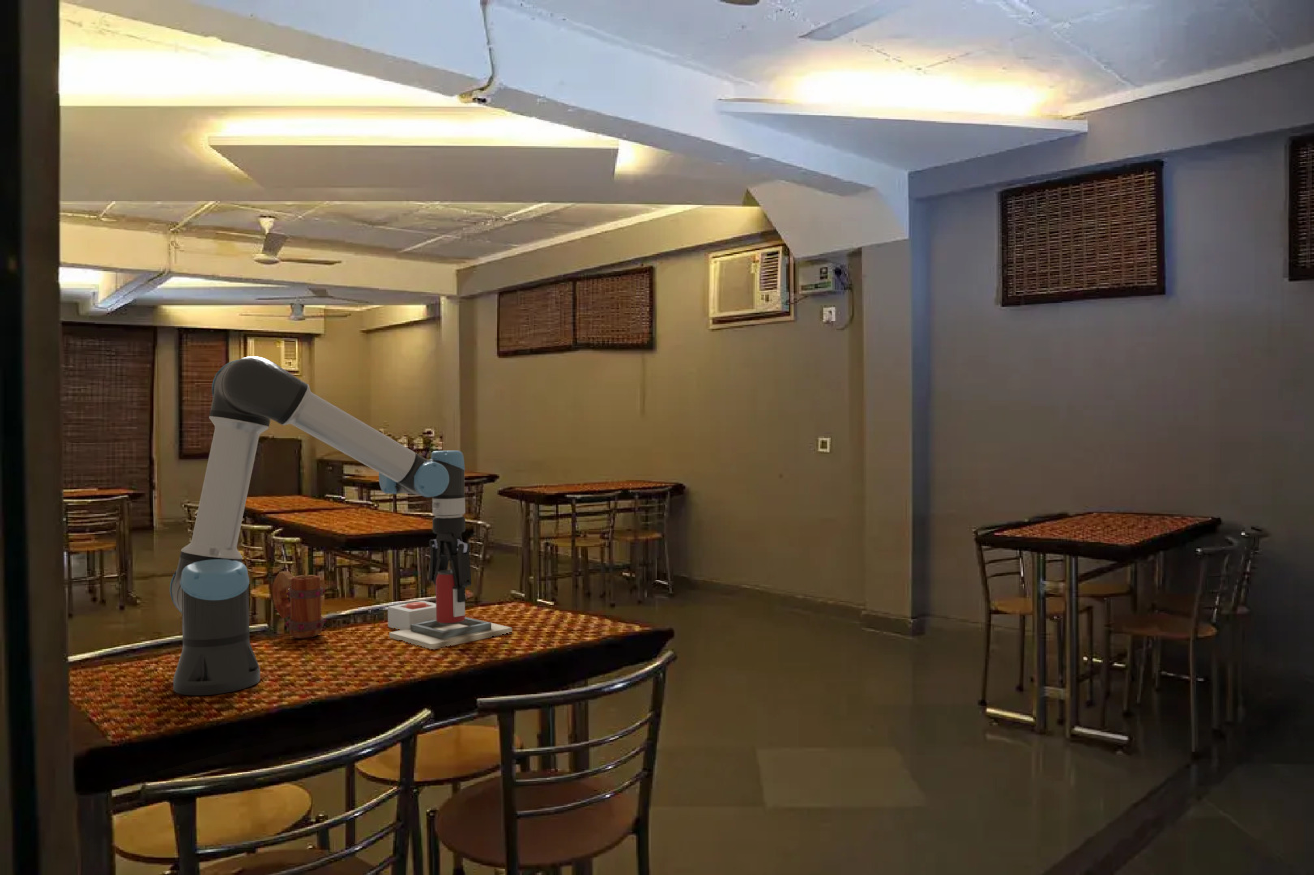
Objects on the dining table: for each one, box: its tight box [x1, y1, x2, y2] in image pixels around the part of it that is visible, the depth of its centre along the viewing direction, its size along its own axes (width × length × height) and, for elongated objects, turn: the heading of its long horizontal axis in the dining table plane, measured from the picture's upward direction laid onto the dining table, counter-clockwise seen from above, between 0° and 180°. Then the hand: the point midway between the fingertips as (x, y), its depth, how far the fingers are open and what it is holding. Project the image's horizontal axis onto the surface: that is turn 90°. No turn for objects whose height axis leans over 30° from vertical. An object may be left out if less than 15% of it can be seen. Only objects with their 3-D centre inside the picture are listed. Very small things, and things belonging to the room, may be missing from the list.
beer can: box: [435, 568, 466, 624], centre depth 220 cm, size 7×7×12 cm
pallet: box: [388, 616, 513, 650], centre depth 220 cm, size 22×18×3 cm
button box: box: [387, 600, 436, 631], centre depth 231 cm, size 10×10×5 cm
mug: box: [272, 570, 327, 640], centre depth 222 cm, size 15×8×15 cm, turn 62°
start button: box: [405, 601, 426, 609], centre depth 230 cm, size 5×5×4 cm
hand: (450, 613), depth 220 cm, fingers closed on beer can, 6 cm apart
